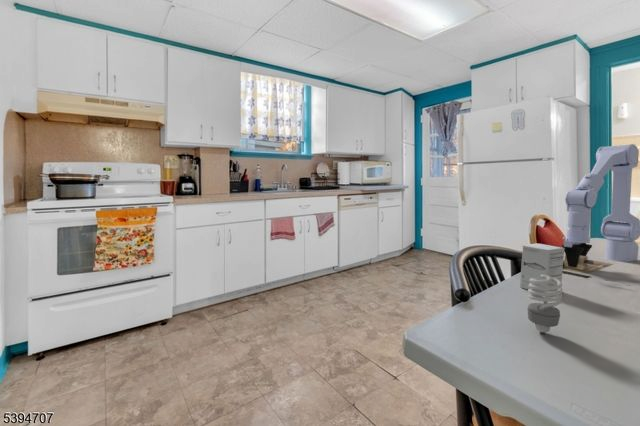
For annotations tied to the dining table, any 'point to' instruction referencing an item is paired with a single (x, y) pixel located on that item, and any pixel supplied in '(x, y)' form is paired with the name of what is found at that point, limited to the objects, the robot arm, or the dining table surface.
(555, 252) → the supplement box
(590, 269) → the board
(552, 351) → the dining table surface
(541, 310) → the light bulb
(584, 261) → the marking gauge
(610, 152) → the robot arm
